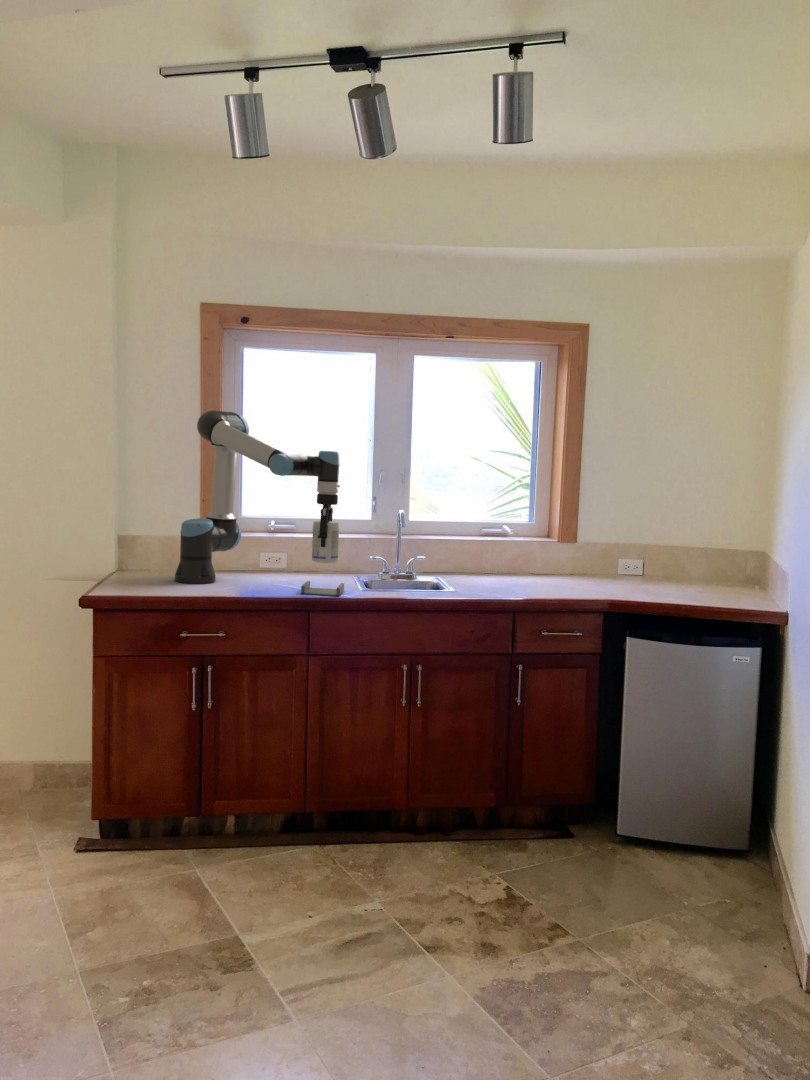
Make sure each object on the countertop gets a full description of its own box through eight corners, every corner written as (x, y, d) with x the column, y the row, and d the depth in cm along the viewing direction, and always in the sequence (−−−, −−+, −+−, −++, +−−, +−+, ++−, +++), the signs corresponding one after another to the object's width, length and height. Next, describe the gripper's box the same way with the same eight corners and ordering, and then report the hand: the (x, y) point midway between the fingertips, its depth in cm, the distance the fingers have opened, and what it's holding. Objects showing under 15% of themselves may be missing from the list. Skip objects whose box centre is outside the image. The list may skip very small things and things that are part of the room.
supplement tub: (332, 560, 336) (334, 520, 334) (341, 563, 327) (343, 522, 326) (307, 560, 332) (309, 520, 330) (316, 563, 323) (318, 522, 322)
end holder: (301, 594, 324) (301, 585, 324) (306, 588, 337) (307, 581, 337) (339, 596, 324) (340, 588, 323) (343, 591, 337) (344, 583, 336)
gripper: (333, 495, 316) (331, 558, 318) (341, 492, 338) (338, 552, 340) (312, 494, 316) (310, 557, 318) (321, 491, 338) (319, 550, 340)
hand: (324, 554), depth 329 cm, fingers closed on supplement tub, 9 cm apart
